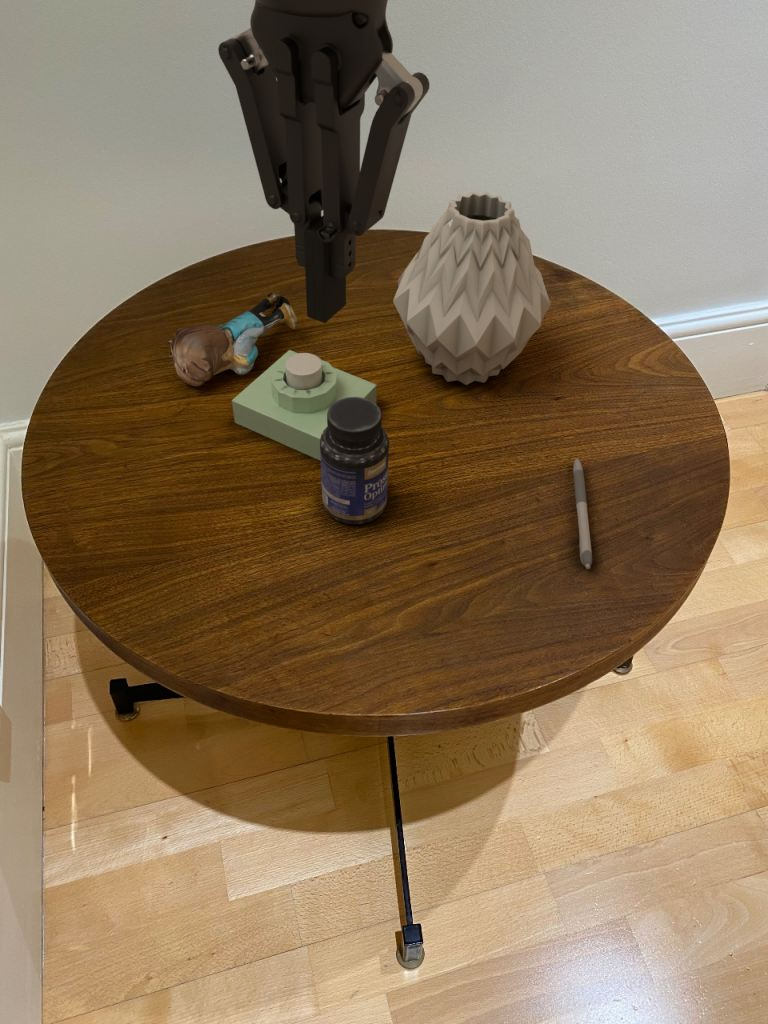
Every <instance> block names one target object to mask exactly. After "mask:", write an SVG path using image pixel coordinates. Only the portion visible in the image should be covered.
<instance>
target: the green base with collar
mask: <svg viewBox="0 0 768 1024" xmlns="http://www.w3.org/2000/svg"><path fill="white" fill-rule="evenodd" d="M295 354H298V352H296V351H293V350H291V349H288V350H287V351H286V352H285V353H284V354H283V355H281V356H280V357H279V358H278V359H277V360H276V361H275V362H274V363H272V364H271V365H270V366H269V367H268V368H267V369H266V370H265V371H264V372H262V373H261V374H260V375H259V376H258V377H257V378H256V379H254V380H253V381H252V382H251V383H250V384H248V385H247V386H246V387H245V388H244V389H243V390H242V391H240V392H239V393H238V394H237V395H236V396H235V397H234V398H233V399H231V404H232V405H231V406H232V411H233V419H234V420H233V421H234V423H235V424H237V425H239V426H241V427H243V428H246V429H248V430H250V431H253V432H255V433H257V434H258V435H261V436H264V437H266V438H268V439H270V440H272V441H276V442H277V443H280V444H282V445H283V446H287V447H288V448H290V449H293V450H295V451H298V452H299V453H302V454H304V455H307V456H308V457H311V458H313V459H315V460H317V461H320V462H321V456H320V438H321V435H322V433H323V431H324V429H325V428H326V427H327V426H328V425H327V413H328V409H329V408H330V406H331V405H332V404H333V403H335V402H336V401H338V400H340V399H343V398H347V397H361V398H366V399H369V400H371V401H373V402H374V403H376V404H377V397H378V396H377V395H378V394H377V389H378V385H377V383H374V382H372V381H368V380H366V379H363V378H361V377H358V376H356V375H353V374H351V373H348V372H346V371H343V370H341V369H339V368H336V367H333V366H332V364H331V363H330V362H328V361H327V360H323V359H321V358H320V360H321V362H322V383H321V385H320V386H319V387H316V388H313V389H310V390H296V389H293V388H291V387H289V386H288V384H287V381H286V369H285V363H286V360H287V359H288V358H289V357H291V356H292V355H295Z"/></svg>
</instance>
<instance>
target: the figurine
mask: <svg viewBox="0 0 768 1024" xmlns="http://www.w3.org/2000/svg"><path fill="white" fill-rule="evenodd" d="M266 311H268V312H269V313H271V314H269V315H266V314H265V312H266ZM297 321H298V319H297V316H296V313H295V311H294V309H293V308H292V306H291V304H290V301H289V299H287V298H286V297H285V296H282V295H281V294H280V293H278V292H270V293H268V294H267V296H266V298H263V299H262V300H261V301H260V302H258V303H257V304H256V305H255V306H254V307H252V308H251V309H250V310H247V311H244V312H243V313H241V314H239V315H238V316H236V317H234V318H232V319H230V320H229V321H227V322H225V323H224V324H220V325H218V326H217V325H215V324H212V323H211V324H210V323H207V324H199V325H196V326H195V325H194V326H188V327H184V328H178V329H177V330H176V331H175V333H174V334H173V336H174V338H172V339H170V340H169V341H167V344H168V345H169V346H170V351H169V354H168V355H167V357H168V358H169V359H171V360H172V361H173V362H174V364H173V366H174V368H175V372H176V374H177V376H178V377H179V378H180V379H181V380H182V381H183V382H184V383H185V384H187V385H190V386H193V387H201V386H203V385H204V384H205V383H206V382H208V381H210V380H211V379H212V378H213V377H214V376H215V375H218V374H220V373H222V372H224V371H227V370H232V372H234V373H235V374H237V375H239V376H244V375H245V376H246V374H248V373H249V372H251V370H252V369H253V368H254V365H255V362H256V359H257V358H258V355H259V350H258V347H257V345H256V343H257V341H258V339H259V338H260V337H263V336H264V335H265V333H266V332H267V331H268V330H270V329H272V328H273V327H274V326H276V324H279V323H282V324H285V325H287V327H288V328H289V329H291V330H295V329H296V326H297Z"/></svg>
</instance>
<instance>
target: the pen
mask: <svg viewBox="0 0 768 1024" xmlns="http://www.w3.org/2000/svg"><path fill="white" fill-rule="evenodd" d="M572 469H573V471H572V472H573V473H572V475H573V486H574V487H573V488H574V496H575V507H576V512H577V513H576V514H577V522H578V523H577V524H578V532H579V540H578V541H579V542H578V546H579V547H578V548H579V558H580V563H581V564H582V565H583V566H584V567H585V570H590V569H591V566H592V564H593V553H592V542H591V534H590V525H589V513H588V501H587V491H586V482H585V473H584V469H583V464H582V462H581V461H580V459H579V458H575V460H574V462H573V468H572Z"/></svg>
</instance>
